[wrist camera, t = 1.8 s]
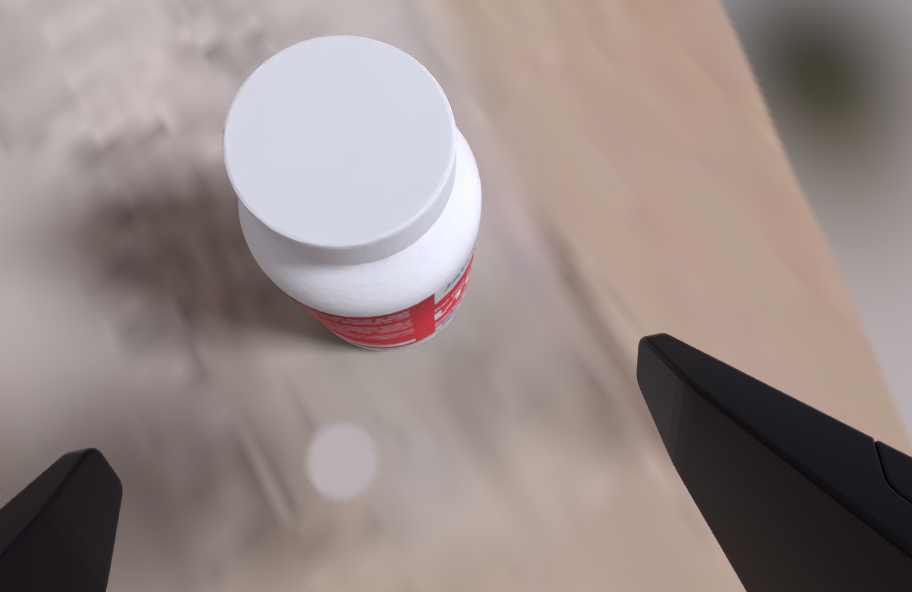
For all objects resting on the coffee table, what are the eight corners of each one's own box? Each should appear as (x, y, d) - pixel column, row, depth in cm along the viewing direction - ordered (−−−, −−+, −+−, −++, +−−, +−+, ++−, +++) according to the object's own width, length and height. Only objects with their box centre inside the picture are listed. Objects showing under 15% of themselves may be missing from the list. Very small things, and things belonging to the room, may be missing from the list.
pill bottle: (461, 360, 21) (481, 302, 10) (299, 346, 21) (152, 272, 10) (473, 206, 23) (504, 13, 12) (321, 192, 23) (211, -14, 12)
